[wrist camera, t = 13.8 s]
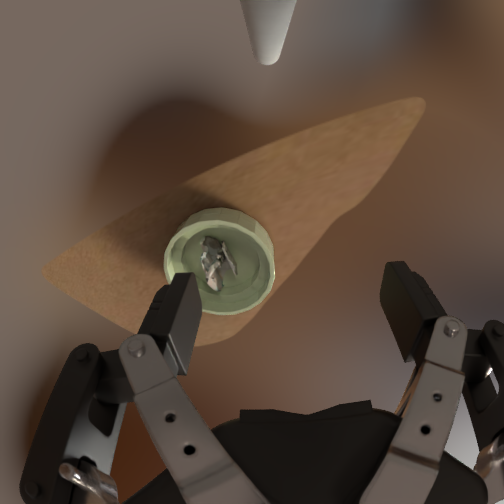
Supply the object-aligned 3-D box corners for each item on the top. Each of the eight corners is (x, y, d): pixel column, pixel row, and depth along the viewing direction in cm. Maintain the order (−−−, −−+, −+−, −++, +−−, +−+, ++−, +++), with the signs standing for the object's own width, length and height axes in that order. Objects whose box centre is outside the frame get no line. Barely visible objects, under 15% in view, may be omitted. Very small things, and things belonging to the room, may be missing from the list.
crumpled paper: (221, 280, 44) (214, 309, 38) (198, 237, 41) (187, 262, 35) (246, 273, 43) (243, 302, 37) (225, 228, 40) (218, 252, 34)
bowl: (164, 211, 40) (152, 225, 35) (270, 202, 38) (270, 215, 34) (185, 295, 47) (178, 315, 43) (276, 292, 46) (276, 312, 41)
